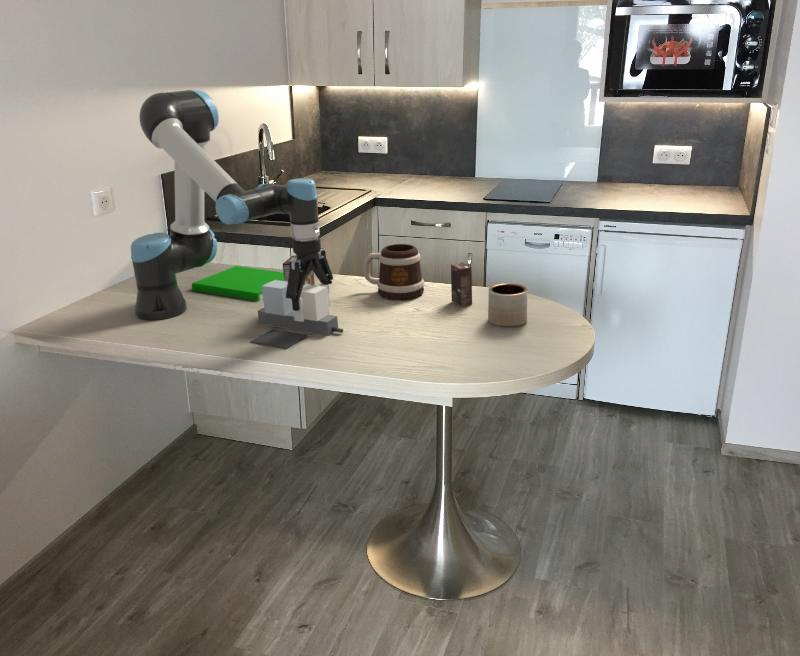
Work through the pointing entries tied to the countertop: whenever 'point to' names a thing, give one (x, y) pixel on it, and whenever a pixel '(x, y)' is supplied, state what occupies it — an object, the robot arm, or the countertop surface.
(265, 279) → the book
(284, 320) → the power strip
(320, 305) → the block
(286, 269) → the coffee box
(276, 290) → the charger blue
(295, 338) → the mat
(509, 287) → the planter
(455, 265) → the box
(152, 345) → the countertop surface
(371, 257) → the mug
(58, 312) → the countertop surface
